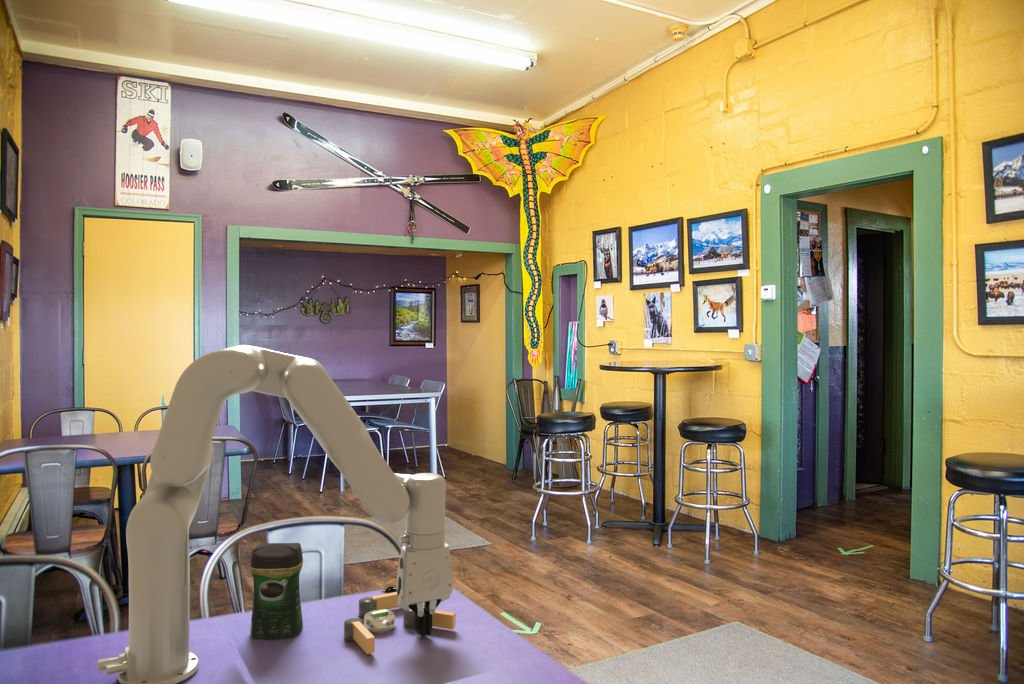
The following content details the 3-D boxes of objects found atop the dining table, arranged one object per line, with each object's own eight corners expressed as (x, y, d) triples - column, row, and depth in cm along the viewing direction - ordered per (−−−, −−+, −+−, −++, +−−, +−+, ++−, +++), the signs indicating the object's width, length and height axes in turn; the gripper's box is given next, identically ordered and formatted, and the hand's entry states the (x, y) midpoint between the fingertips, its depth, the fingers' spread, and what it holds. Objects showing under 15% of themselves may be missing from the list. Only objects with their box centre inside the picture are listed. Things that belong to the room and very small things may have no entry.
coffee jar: (306, 629, 144) (307, 537, 144) (297, 647, 136) (298, 550, 136) (256, 630, 144) (257, 537, 143) (244, 648, 136) (246, 550, 135)
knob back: (362, 619, 146) (362, 603, 146) (356, 613, 149) (356, 597, 149) (411, 609, 151) (411, 593, 151) (404, 603, 154) (404, 588, 154)
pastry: (396, 584, 170) (397, 568, 170) (422, 588, 168) (423, 572, 168) (377, 599, 161) (377, 582, 161) (404, 603, 159) (405, 586, 159)
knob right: (400, 626, 143) (400, 609, 143) (408, 619, 146) (408, 603, 146) (450, 635, 139) (450, 617, 139) (457, 627, 143) (457, 610, 143)
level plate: (350, 663, 130) (351, 638, 130) (320, 626, 146) (320, 604, 145) (440, 641, 140) (440, 618, 140) (403, 609, 155) (403, 588, 155)
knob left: (341, 635, 138) (341, 618, 138) (359, 631, 140) (359, 614, 140) (361, 658, 129) (361, 640, 129) (380, 654, 131) (380, 635, 131)
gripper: (396, 550, 131) (394, 650, 131) (468, 538, 139) (466, 632, 139) (380, 539, 137) (379, 634, 138) (450, 528, 145) (449, 618, 146)
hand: (423, 633), depth 138 cm, fingers closed
